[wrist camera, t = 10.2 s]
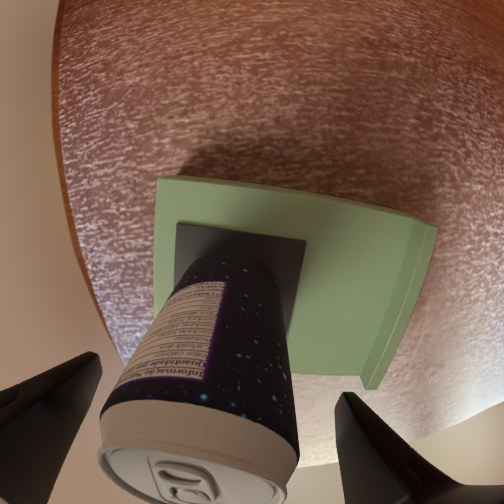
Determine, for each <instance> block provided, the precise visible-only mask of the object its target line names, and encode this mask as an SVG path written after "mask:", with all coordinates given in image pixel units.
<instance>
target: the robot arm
mask: <svg viewBox="0 0 504 504" xmlns="http://www.w3.org/2000/svg"><path fill="white" fill-rule="evenodd" d="M101 376H102V366H101V362H100V358H99V355H98V354H97V353H94V352H90V351H88V352H86V353H84V354H81V355H79V356H77V357H75V358H73V359H71V360H69V361H67V362H65V363H63V364H60V365H58V366H56V367H54V368H52V369H49V370H47V371H45V372H43V373H41V374H39V375H36V376H34V377H32V378H30V379H28V380H25V381H23V382H21V383H20V384H17V385H14V386H12V387H10V388H8V389H5V390H2V391H0V504H47V503H48V500H49V497H50V495H51V492H52V490H53V487H54V484H55V482H56V479H57V477H58V475H59V472H60V470H61V467H62V465H63V463H64V461H65V458H66V456H67V454H68V451H69V449H70V447H71V445H72V443H73V441H74V438H75V436H76V434H77V432H78V430H79V428H80V426H81V424H82V422H83V420H84V417H85V416H86V414H87V411H88V410H89V407H90V405H91V403H92V400H93V397H94V395H95V392H96V389H97V387H98V384H99V381H100V379H101ZM334 412H335V431H336V447H337V453H338V459H339V465H340V471H341V478H342V484H343V491H344V499H345V504H504V485H487V486H486V485H484V486H483V485H464V484H461V483H459V482H457V481H455V480H453V479H452V478H450V477H449V476H447V475H446V474H444V473H443V472H442V471H440V470H439V469H437V468H436V467H435V466H433V465H432V464H431V463H429V462H428V461H427V460H426V459H424V458H423V457H422V456H421V455H419V454H418V453H417V452H416V451H415V450H414V449H413V448H412V447H411V448H410V445H409V444H408V443H407V442H405V441H404V440H403V439H402V438H401V437H400V436H399V435H398V434H397V433H396V432H395V431H394V430H393V429H392V428H391V427H389V426H388V425H387V424H386V423H385V422H384V421H383V420H382V419H381V418H380V417H379V416H378V415H377V414H376V413H375V412H374V411H373V410H372V409H371V408H370V407H369V406H368V405H366V404H365V403H364V402H363V401H362V400H361V399H360V398H359V397H358V396H357V395H356V394H355V393H354V392H343V393H342V394H341V396H340V398H339V400H338V402H337V404H336V406H335V411H334Z"/></svg>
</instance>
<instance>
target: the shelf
mask: <svg viewBox="0 0 504 504" xmlns="http://www.w3.org/2000/svg"><path fill="white" fill-rule="evenodd" d="M438 230H439V227H437V226H435V225H433V224H431V223H428V222H426V221H424V220H421V219H419V218H417V217H414V216H412V215H410V214H407V213H405V212H402V211H399V210H395V209H391V208H386V207H382V206H377V205H373V204H368V203H364V202H359V201H354V200H349V199H344V198H339V197H334V196H329V195H323V194H318V193H312V192H306V191H300V190H294V189H288V188H282V187H275V186H269V185H262V184H255V183H247V182H240V181H232V180H223V179H215V178H205V177H196V176H185V175H171V176H165V177H160V178H158V181H157V193H156V208H155V226H154V259H153V294H154V320H155V318H156V317H157V315H158V313H159V312H160V310H161V309H162V307H163V305H164V304H165V302H166V301H167V299H168V298H169V296H170V294H171V293H172V291H173V290H174V288H175V287H176V285H177V284H178V282H179V281H180V279H181V277H182V276H183V274H184V273H185V271H186V270H187V269H188V267H189V266H190V265H191V264H192V263H194V262H195V261H196V260H197V259H199V258H201V257H203V256H205V255H207V254H210V253H213V252H219V251H235V252H240V253H244V254H247V255H249V256H252V257H253V258H255V259H257V260H259V261H260V262H261V263H263V264H264V265H265V266H266V267H267V268H268V269H269V270H270V271H271V273H272V274H273V275H274V277H275V279H276V281H277V283H278V286H279V289H280V295H281V302H282V309H283V317H284V324H285V332H286V339H287V347H288V355H289V363H290V371H291V373H294V374H310V375H336V376H360V378H361V380H362V383H363V385H364V388H365V390H376V389H377V388H378V386H379V384H380V383H381V381H382V379H383V377H384V375H385V373H386V371H387V369H388V367H389V365H390V363H391V361H392V359H393V357H394V355H395V353H396V350H397V348H398V346H399V344H400V342H401V339H402V337H403V335H404V332H405V330H406V328H407V325H408V323H409V320H410V318H411V315H412V313H413V310H414V308H415V305H416V302H417V299H418V297H419V294H420V291H421V288H422V285H423V282H424V279H425V276H426V273H427V270H428V267H429V263H430V260H431V257H432V253H433V250H434V246H435V242H436V238H437V234H438Z"/></svg>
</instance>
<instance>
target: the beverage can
mask: <svg viewBox="0 0 504 504" xmlns="http://www.w3.org/2000/svg"><path fill="white" fill-rule="evenodd" d="M100 431H101V439H102V446H101V448H100V449H99V450H98V452H97V462H98V464H99V467H100V468H101V470H102V471H103V473H104V474H105V475H106V476H107V477H108V478H109V479H111V480H112V481H113V482H114V483H115V484H116V485H118V486H119V487H121V488H122V489H123V490H125V491H127V492H128V493H130V494H132V495H134V496H135V497H137V498H139V499H141V500H144V501H146V502H148V503H151V504H283V503H284V501H285V500H286V497H287V489H286V484H287V482H288V481H289V479H290V477H291V475H292V474H293V472H294V470H295V468H296V466H297V464H298V461H299V458H300V450H299V441H298V431H297V422H296V413H295V404H294V396H293V387H292V379H291V371H290V363H289V355H288V347H287V339H286V332H285V324H284V317H283V309H282V302H281V295H280V289H279V286H278V283H277V281H276V279H275V277H274V275H273V274H272V273H271V271H270V270H269V269H268V268H267V267H266V266H265V265H264V264H263V263H261V262H260V261H259V260H257V259H255V258H253V257H252V256H249V255H247V254H244V253H240V252H235V251H219V252H213V253H210V254H207V255H205V256H203V257H201V258H199V259H197V260H196V261H195V262H194V263H192V264H191V265H190V266H189V267H188V269H187V270H186V271H185V273H184V274H183V276H182V277H181V279H180V281H179V282H178V284H177V285H176V287H175V288H174V290H173V291H172V293H171V294H170V296H169V298H168V299H167V301H166V302H165V304H164V305H163V307H162V309H161V310H160V312H159V313H158V315H157V317H156V318H155V320H154V321H153V323H152V325H151V326H150V328H149V329H148V331H147V333H146V334H145V336H144V338H143V339H142V341H141V343H140V344H139V346H138V348H137V349H136V351H135V353H134V354H133V356H132V358H131V359H130V361H129V363H128V364H127V366H126V368H125V369H124V371H123V373H122V375H121V376H120V378H119V380H118V381H117V383H116V385H115V387H114V389H113V390H112V392H111V394H110V396H109V397H108V399H107V401H106V403H105V405H104V406H103V408H102V410H101V413H100Z"/></svg>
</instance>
